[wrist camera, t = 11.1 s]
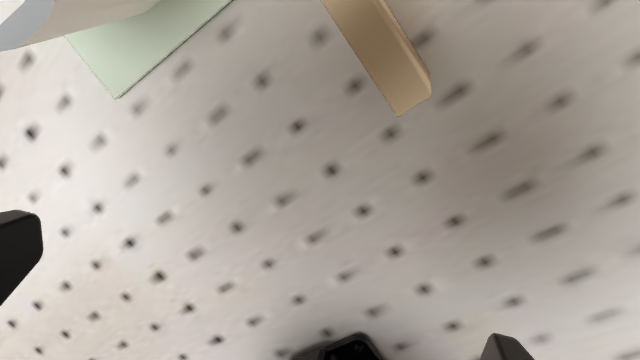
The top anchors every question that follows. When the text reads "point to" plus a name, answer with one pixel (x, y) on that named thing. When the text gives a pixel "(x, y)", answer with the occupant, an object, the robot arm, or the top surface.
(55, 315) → the top surface
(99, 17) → the white cup
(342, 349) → the robot arm
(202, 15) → the pad
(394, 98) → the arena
